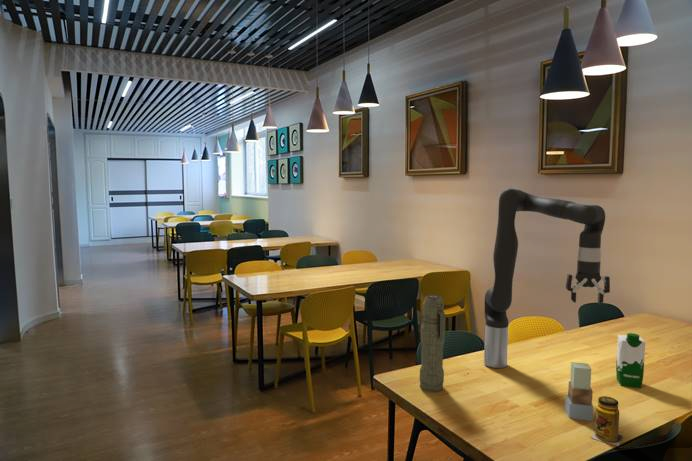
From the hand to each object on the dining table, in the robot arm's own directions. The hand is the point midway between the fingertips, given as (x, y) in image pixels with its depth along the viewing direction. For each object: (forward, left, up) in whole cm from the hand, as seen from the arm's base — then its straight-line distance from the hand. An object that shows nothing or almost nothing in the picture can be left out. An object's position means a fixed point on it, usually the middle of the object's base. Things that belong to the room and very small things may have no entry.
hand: (586, 302), depth 171 cm
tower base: (-6, -22, -33) cm, 40 cm away
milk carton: (+19, +11, -33) cm, 40 cm away
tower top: (-6, -22, -28) cm, 36 cm away
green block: (-6, -22, -23) cm, 32 cm away
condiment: (-1, -35, -33) cm, 48 cm away
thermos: (-55, -13, -33) cm, 66 cm away
